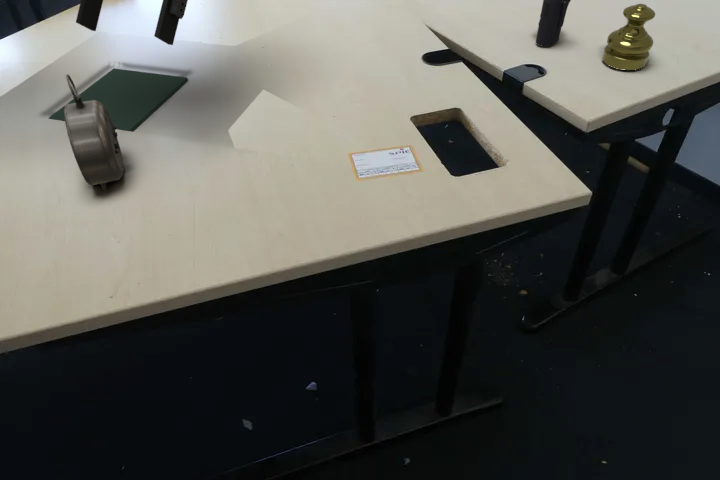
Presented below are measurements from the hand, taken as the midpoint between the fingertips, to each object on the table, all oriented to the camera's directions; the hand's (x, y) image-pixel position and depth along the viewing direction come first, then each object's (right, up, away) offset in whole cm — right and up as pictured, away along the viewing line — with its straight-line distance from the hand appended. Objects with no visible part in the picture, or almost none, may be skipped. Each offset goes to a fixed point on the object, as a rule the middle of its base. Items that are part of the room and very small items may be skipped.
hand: (123, 33), depth 71 cm
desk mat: (-10, -3, +22) cm, 24 cm away
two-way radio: (+68, +10, +31) cm, 75 cm away
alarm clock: (-4, -19, +6) cm, 20 cm away
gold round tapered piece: (+79, +4, +24) cm, 83 cm away
